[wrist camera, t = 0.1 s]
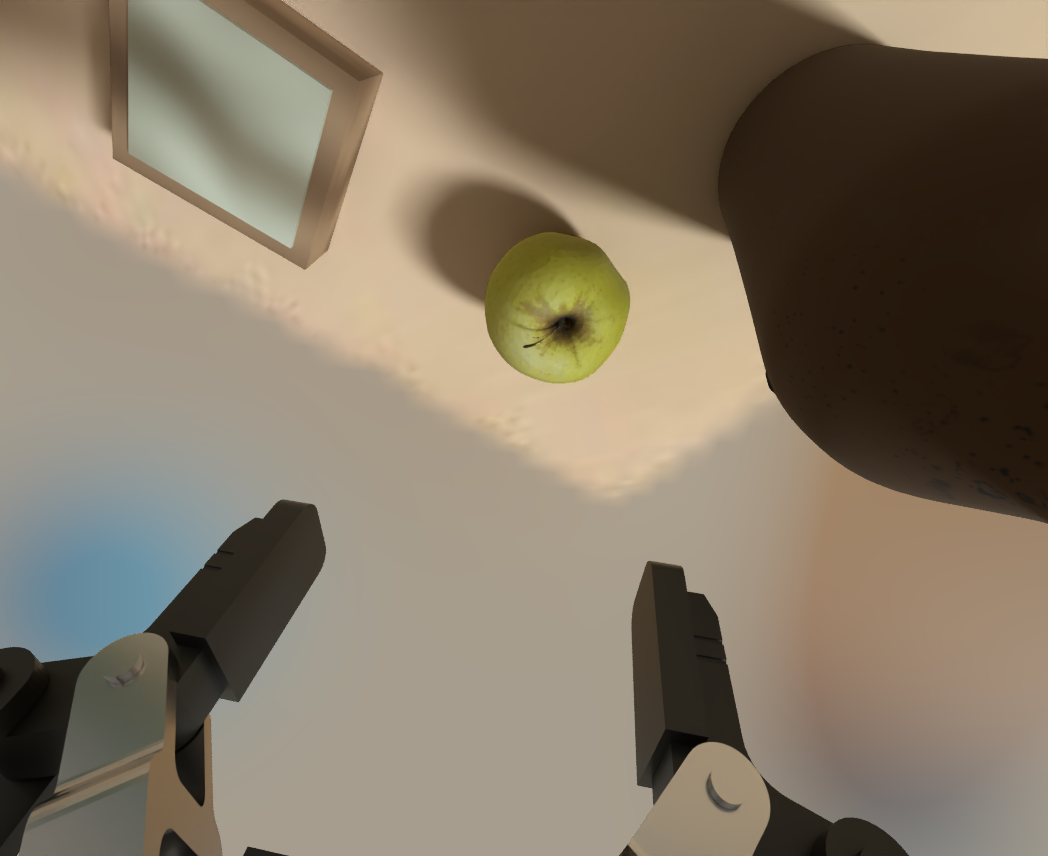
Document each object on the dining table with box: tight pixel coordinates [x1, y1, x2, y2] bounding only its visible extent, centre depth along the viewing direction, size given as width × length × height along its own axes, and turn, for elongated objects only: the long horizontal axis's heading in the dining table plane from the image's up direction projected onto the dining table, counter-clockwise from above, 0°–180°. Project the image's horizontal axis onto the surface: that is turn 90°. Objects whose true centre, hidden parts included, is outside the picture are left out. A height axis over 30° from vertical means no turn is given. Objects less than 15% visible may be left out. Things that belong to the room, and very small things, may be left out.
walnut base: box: [109, 0, 383, 269], centre depth 25 cm, size 11×11×3 cm
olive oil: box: [718, 44, 1048, 524], centre depth 15 cm, size 11×11×25 cm
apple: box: [485, 232, 630, 383], centre depth 27 cm, size 8×8×10 cm
